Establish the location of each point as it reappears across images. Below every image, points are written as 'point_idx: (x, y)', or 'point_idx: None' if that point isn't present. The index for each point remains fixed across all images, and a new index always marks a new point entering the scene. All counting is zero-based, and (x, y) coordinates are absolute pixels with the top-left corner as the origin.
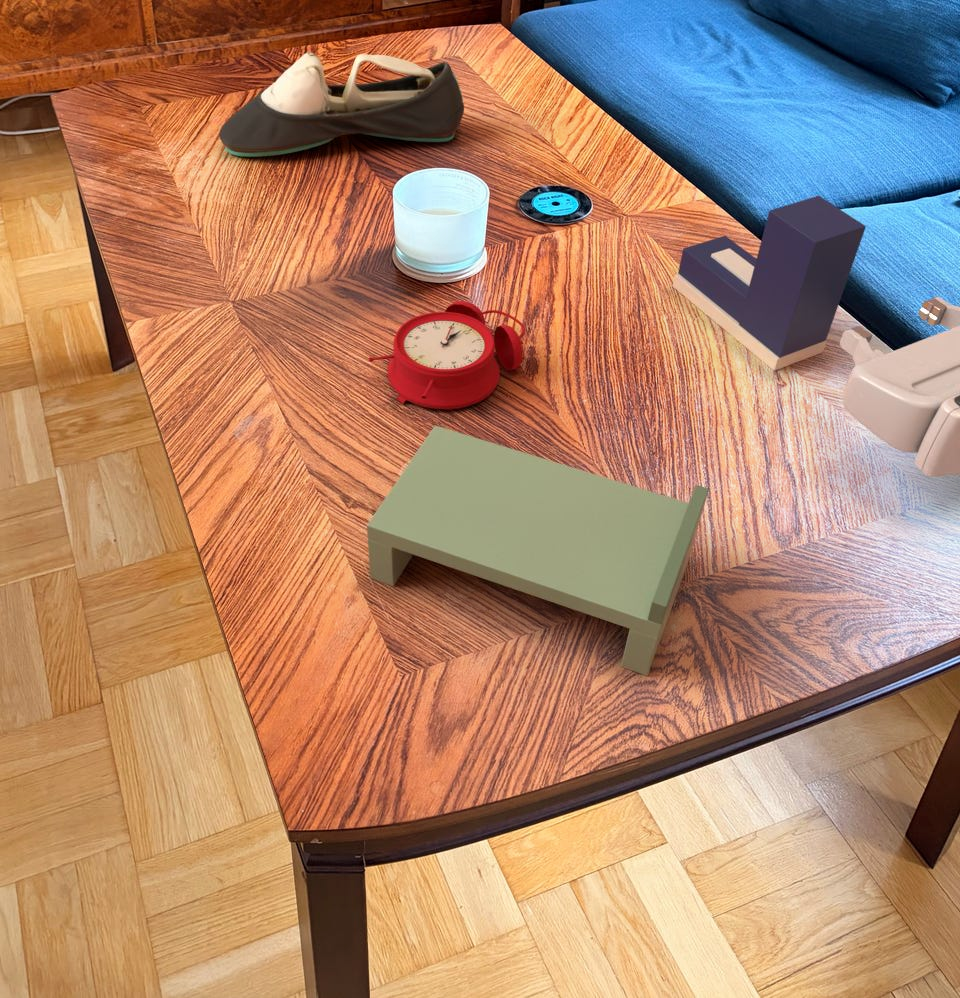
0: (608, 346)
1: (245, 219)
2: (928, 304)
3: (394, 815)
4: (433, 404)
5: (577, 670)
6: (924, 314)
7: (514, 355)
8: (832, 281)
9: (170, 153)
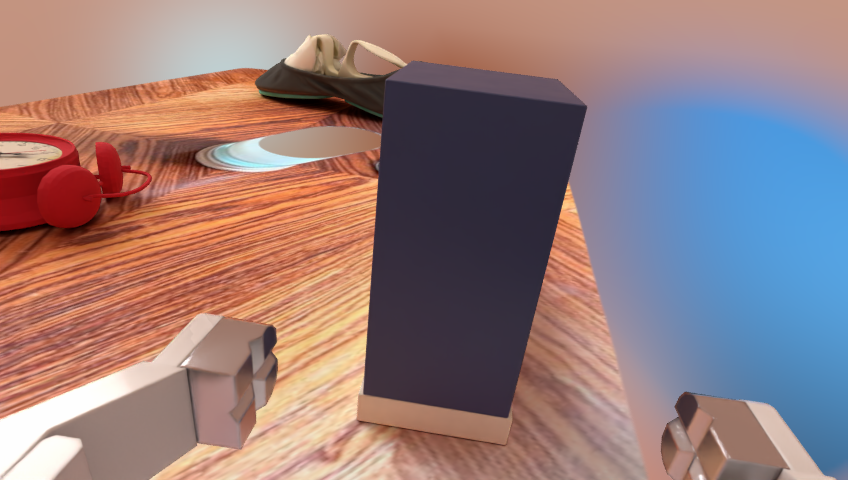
0: (210, 262)
1: (189, 107)
2: (693, 410)
3: None
4: None
5: None
6: (673, 451)
7: (38, 198)
8: (488, 250)
9: (233, 86)
